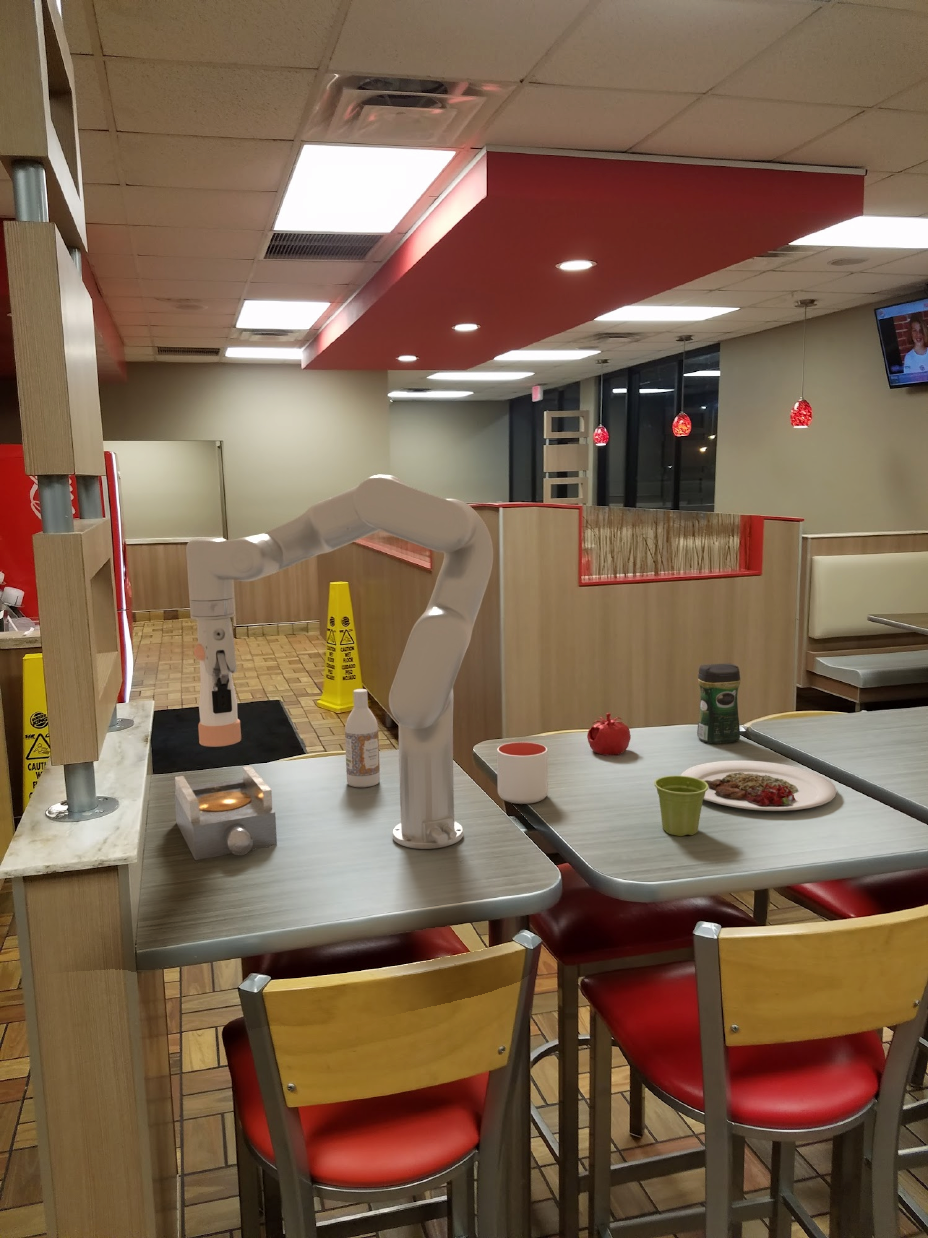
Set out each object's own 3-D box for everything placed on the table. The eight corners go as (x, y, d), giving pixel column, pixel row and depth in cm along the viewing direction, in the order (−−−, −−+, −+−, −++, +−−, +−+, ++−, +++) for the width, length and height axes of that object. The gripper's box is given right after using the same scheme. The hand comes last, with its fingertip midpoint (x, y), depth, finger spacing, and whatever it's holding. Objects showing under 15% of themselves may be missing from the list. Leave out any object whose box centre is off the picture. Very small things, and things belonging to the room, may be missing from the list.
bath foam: (360, 790, 191) (357, 695, 188) (340, 783, 196) (336, 690, 193) (386, 782, 196) (383, 690, 193) (366, 775, 201) (363, 685, 198)
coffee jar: (728, 734, 227) (730, 659, 225) (744, 743, 220) (746, 666, 217) (691, 737, 226) (693, 662, 223) (706, 746, 218) (707, 668, 215)
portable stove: (282, 853, 159) (280, 799, 158) (199, 869, 153) (195, 814, 152) (250, 810, 181) (248, 763, 179) (176, 822, 175) (173, 774, 173)
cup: (517, 786, 192) (516, 739, 191) (557, 795, 186) (557, 747, 184) (487, 799, 184) (486, 750, 183) (528, 809, 178) (528, 759, 177)
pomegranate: (633, 747, 218) (633, 708, 217) (627, 759, 209) (627, 719, 208) (591, 744, 221) (591, 706, 220) (583, 756, 212) (583, 716, 211)
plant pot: (713, 826, 168) (714, 780, 166) (698, 844, 160) (699, 795, 158) (663, 817, 172) (664, 772, 171) (646, 834, 164) (646, 787, 163)
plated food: (744, 760, 207) (744, 746, 207) (867, 796, 183) (868, 779, 182) (648, 787, 190) (648, 771, 190) (770, 830, 166) (770, 812, 165)
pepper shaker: (209, 749, 161) (202, 640, 158) (192, 741, 167) (185, 635, 164) (248, 741, 166) (242, 635, 163) (230, 733, 171) (224, 631, 169)
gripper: (244, 612, 157) (250, 716, 159) (224, 602, 172) (229, 696, 175) (199, 616, 153) (206, 721, 156) (182, 605, 169) (188, 701, 172)
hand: (218, 707), depth 165 cm, fingers closed on pepper shaker, 6 cm apart
